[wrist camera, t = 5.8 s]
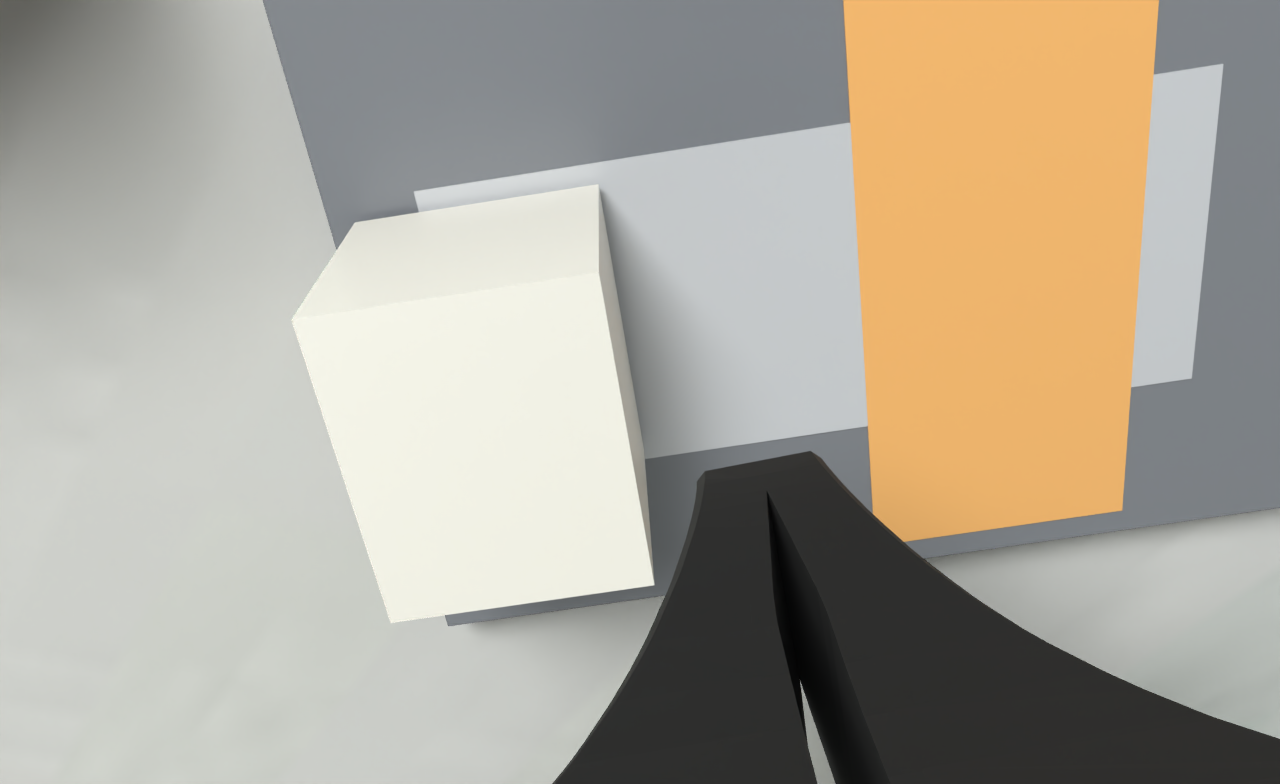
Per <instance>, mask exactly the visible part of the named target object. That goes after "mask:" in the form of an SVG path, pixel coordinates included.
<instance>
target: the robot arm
mask: <svg viewBox="0 0 1280 784" xmlns="http://www.w3.org/2000/svg"><path fill="white" fill-rule="evenodd" d="M800 681H801V684H802V687H803V690H804V693H805V696H806V699H807V701H808V704H809V707H810V710H811V713H812V716H813V719H814V722H815V725H816V728H817V731H818V734H819V736H820V739H821V742H822V745H823V748H824V751H825V754H826V757H827V760H828V763H829V765H830V768H831V771H832V774H833V777H834V780H835V783H836V784H1280V739H1278V738H1275V737H1272V736H1269V735H1266V734H1263V733H1260V732H1257V731H1254V730H1251V729H1248V728H1245V727H1241V726H1238V725H1235V724H1232V723H1229V722H1226V721H1223V720H1220V719H1217V718H1214V717H1212V716H1209V715H1206V714H1204V713H1201V712H1199V711H1196V710H1194V709H1191V708H1189V707H1186V706H1184V705H1181V704H1179V703H1176V702H1174V701H1171V700H1169V699H1167V698H1164V697H1162V696H1159V695H1157V694H1154V693H1152V692H1149V691H1147V690H1144V689H1142V688H1140V687H1137V686H1135V685H1133V684H1131V683H1129V682H1126V681H1124V680H1122V679H1120V678H1118V677H1115V676H1113V675H1111V674H1109V673H1106V672H1104V671H1102V670H1100V669H1099V668H1097V667H1095V666H1093V665H1091V664H1089V663H1087V662H1085V661H1083V660H1081V659H1079V658H1077V657H1075V656H1073V655H1071V654H1069V653H1067V652H1065V651H1063V650H1061V649H1059V648H1057V647H1055V646H1053V645H1051V644H1049V643H1047V642H1045V641H1044V640H1042V639H1040V638H1038V637H1037V636H1035V635H1033V634H1031V633H1029V632H1028V631H1026V630H1024V629H1023V628H1021V627H1019V626H1018V625H1016V624H1015V623H1013V622H1012V621H1010V620H1008V619H1007V618H1005V617H1004V616H1002V615H1000V614H999V613H997V612H996V611H994V610H993V609H991V608H990V607H988V606H987V605H985V604H984V603H982V602H981V601H979V600H978V599H976V598H975V597H974V596H972V595H971V594H969V593H968V592H967V591H965V590H964V589H962V588H961V587H960V586H958V585H957V584H956V583H954V582H953V581H952V580H950V579H949V578H948V577H946V576H945V575H944V574H943V573H941V572H940V571H939V570H937V569H936V568H935V567H933V566H932V565H931V564H930V563H928V562H927V561H926V560H925V559H923V558H922V557H921V556H920V555H919V554H917V553H916V552H915V551H914V550H913V549H911V548H910V547H909V546H908V545H907V544H906V543H904V542H903V541H902V540H901V539H900V538H899V537H898V536H897V535H896V534H894V533H893V532H892V531H891V530H890V529H889V528H888V527H887V526H885V525H884V524H883V523H882V522H881V521H880V520H879V519H878V518H877V517H876V516H875V515H873V514H872V513H871V512H870V511H869V510H868V509H867V508H866V507H865V506H864V505H863V504H862V503H861V502H860V501H859V500H858V499H857V498H856V497H855V496H854V495H853V494H852V493H851V492H850V491H849V490H848V488H847V487H846V486H845V485H844V484H843V483H842V482H841V481H840V480H839V479H838V478H837V476H836V475H835V474H834V473H833V472H832V471H831V469H830V468H829V467H828V466H827V465H826V463H825V462H824V461H823V459H822V458H821V457H819V456H818V455H816V454H815V453H813V452H812V451H807V452H802V453H797V454H791V455H786V456H781V457H776V458H770V459H765V460H760V461H755V462H750V463H744V464H739V465H734V466H729V467H723V468H718V469H713V470H708V471H705V472H704V473H703V474H702V475H701V477H700V478H699V479H698V480H697V490H696V498H695V504H694V509H693V513H692V518H691V522H690V525H689V529H688V533H687V536H686V540H685V543H684V546H683V549H682V552H681V555H680V558H679V561H678V563H677V566H676V569H675V572H674V575H673V578H672V581H671V583H670V586H669V588H668V591H667V593H666V596H665V598H664V600H663V602H662V605H661V607H660V609H659V611H658V614H657V616H656V618H655V621H654V623H653V625H652V627H651V630H650V632H649V634H648V636H647V638H646V640H645V642H644V644H643V646H642V648H641V650H640V652H639V654H638V656H637V658H636V660H635V662H634V664H633V665H632V667H631V669H630V671H629V673H628V674H627V676H626V678H625V680H624V681H623V683H622V685H621V686H620V688H619V690H618V692H617V693H616V695H615V697H614V698H613V700H612V702H611V703H610V705H609V706H608V708H607V709H606V711H605V712H604V714H603V715H602V717H601V718H600V720H599V721H598V723H597V724H596V726H595V727H594V729H593V730H592V732H591V733H590V735H589V736H588V738H587V739H586V741H585V742H584V743H583V745H582V746H581V748H580V749H579V750H578V752H577V753H576V755H575V756H574V757H573V759H572V760H571V761H570V763H569V764H568V765H567V767H566V768H565V769H564V770H563V772H562V773H561V774H560V775H559V776H558V778H557V779H556V780H555V781H554V782H553V784H817V781H816V777H815V773H814V769H813V765H812V761H811V757H810V753H809V749H808V744H807V736H806V728H805V719H804V711H803V702H802V694H801V686H800Z"/></svg>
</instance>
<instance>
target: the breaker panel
mask: <svg viewBox="0 0 1280 784" xmlns="http://www.w3.org/2000/svg"><path fill="white" fill-rule="evenodd" d="M263 3H264V6H265V10H266V13H267V17H268V20H269V23H270V27H271V30H272V33H273V37H274V40H275V44H276V47H277V50H278V54H279V57H280V60H281V64H282V67H283V71H284V74H285V77H286V81H287V84H288V87H289V91H290V94H291V98H292V101H293V104H294V108H295V111H296V114H297V118H298V121H299V125H300V128H301V131H302V135H303V138H304V141H305V145H306V148H307V152H308V155H309V158H310V162H311V165H312V168H313V172H314V175H315V179H316V182H317V185H318V189H319V192H320V195H321V199H322V202H323V206H324V209H325V212H326V216H327V219H328V222H329V226H330V229H331V233H332V236H333V239H334V243H335V246H336V249H338V247H339V246H340V244H341V243H342V241H343V240H344V238H345V237H346V235H347V234H348V232H349V231H350V229H351V228H352V226H353V224H354V223H355V222H361V221H367V220H373V219H380V218H386V217H392V216H399V215H405V214H411V213H418V212H424V211H431V210H437V209H443V208H450V207H456V206H462V205H469V204H475V203H482V202H488V201H494V200H501V199H507V198H513V197H520V196H526V195H532V194H539V193H545V192H552V191H558V190H564V189H571V188H577V187H583V186H590V185H596V184H599V190H600V196H601V202H602V208H603V213H604V219H605V225H606V231H607V237H608V243H609V248H610V254H611V260H612V266H613V272H614V278H615V283H616V289H617V295H618V301H619V307H620V313H621V318H622V324H623V330H624V336H625V342H626V348H627V353H628V359H629V365H630V371H631V377H632V383H633V388H634V394H635V400H636V406H637V412H638V418H639V423H640V429H641V435H642V441H643V447H644V456H645V469H646V482H647V495H648V508H649V521H650V533H651V546H652V559H653V572H654V585H653V586H646V587H639V588H632V589H625V590H618V591H611V592H604V593H597V594H590V595H583V596H576V597H569V598H562V599H555V600H548V601H541V602H534V603H527V604H520V605H513V606H506V607H499V608H492V609H485V610H478V611H471V612H464V613H457V614H450V615H445V617H446V621H447V624H448V626H454V625H461V624H468V623H475V622H482V621H489V620H496V619H503V618H510V617H517V616H524V615H531V614H538V613H545V612H552V611H559V610H566V609H573V608H580V607H587V606H594V605H601V604H608V603H615V602H622V601H629V600H636V599H643V598H650V597H657V596H664V595H666V593H667V591H668V588H669V586H670V583H671V581H672V578H673V575H674V572H675V569H676V566H677V563H678V561H679V558H680V555H681V552H682V549H683V546H684V543H685V540H686V536H687V533H688V529H689V525H690V522H691V518H692V513H693V509H694V504H695V498H696V490H697V480H698V479H699V478H700V477H701V475H702V474H703V473H704V472H705V471H708V470H713V469H718V468H723V467H729V466H734V465H739V464H744V463H750V462H755V461H760V460H765V459H770V458H776V457H781V456H786V455H791V454H797V453H802V452H807V451H812V452H813V453H815V454H816V455H818V456H819V457H821V458H822V459H823V461H824V462H825V463H826V465H827V466H828V467H829V468H830V469H831V471H832V472H833V473H834V474H835V475H836V476H837V478H838V479H839V480H840V481H841V482H842V483H843V484H844V485H845V486H846V487H847V488H848V490H849V491H850V492H851V493H852V494H853V495H854V496H855V497H856V498H857V499H858V500H859V501H860V502H861V503H862V504H863V505H864V506H865V507H866V508H867V509H868V510H869V511H870V512H871V513H872V514H873V515H875V516H876V517H877V518H878V519H879V520H880V521H881V522H882V523H883V524H884V525H885V526H887V527H888V528H889V529H890V530H891V531H892V532H893V533H894V534H896V535H897V536H898V537H899V538H900V539H901V540H902V541H903V542H904V543H906V544H907V545H908V546H909V547H910V548H911V549H913V550H914V551H915V552H916V553H917V554H919V555H920V556H921V557H922V558H923V559H924V558H931V557H938V556H945V555H952V554H959V553H966V552H973V551H980V550H987V549H994V548H1001V547H1008V546H1015V545H1022V544H1029V543H1036V542H1043V541H1050V540H1057V539H1064V538H1071V537H1078V536H1085V535H1092V534H1099V533H1106V532H1113V531H1120V530H1127V529H1134V528H1141V527H1148V526H1155V525H1162V524H1169V523H1176V522H1183V521H1190V520H1197V519H1204V518H1211V517H1218V516H1225V515H1232V514H1239V513H1246V512H1253V511H1260V510H1267V509H1274V508H1280V0H263Z"/></svg>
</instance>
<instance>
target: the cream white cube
mask: <svg viewBox="0 0 1280 784" xmlns="http://www.w3.org/2000/svg"><path fill="white" fill-rule="evenodd" d="M291 320H292V323H293V326H294V330H295V333H296V336H297V339H298V342H299V345H300V348H301V351H302V354H303V357H304V360H305V363H306V366H307V369H308V372H309V375H310V378H311V381H312V384H313V388H314V391H315V394H316V397H317V400H318V403H319V406H320V409H321V412H322V415H323V418H324V421H325V424H326V427H327V430H328V433H329V436H330V439H331V442H332V446H333V449H334V452H335V455H336V458H337V461H338V464H339V467H340V470H341V473H342V476H343V479H344V482H345V485H346V488H347V491H348V494H349V497H350V500H351V504H352V507H353V510H354V513H355V516H356V519H357V522H358V525H359V528H360V531H361V534H362V537H363V540H364V543H365V546H366V549H367V552H368V555H369V558H370V561H371V565H372V568H373V571H374V574H375V577H376V580H377V583H378V586H379V589H380V592H381V595H382V598H383V601H384V604H385V607H386V610H387V613H388V616H389V619H390V623H394V622H401V621H408V620H415V619H422V618H429V617H436V616H443V615H450V614H457V613H464V612H471V611H478V610H485V609H492V608H499V607H506V606H513V605H520V604H527V603H534V602H541V601H548V600H555V599H562V598H569V597H576V596H583V595H590V594H597V593H604V592H611V591H618V590H625V589H632V588H639V587H646V586H653V585H654V572H653V559H652V546H651V533H650V521H649V508H648V495H647V482H646V469H645V456H644V447H643V441H642V435H641V429H640V423H639V418H638V412H637V406H636V400H635V394H634V388H633V383H632V377H631V371H630V365H629V359H628V353H627V348H626V342H625V336H624V330H623V324H622V318H621V313H620V307H619V301H618V295H617V289H616V283H615V278H614V272H613V266H612V260H611V254H610V248H609V243H608V237H607V231H606V225H605V219H604V213H603V208H602V202H601V196H600V190H599V184H596V185H590V186H583V187H577V188H571V189H564V190H558V191H552V192H545V193H539V194H532V195H526V196H520V197H513V198H507V199H501V200H494V201H488V202H482V203H475V204H469V205H462V206H456V207H450V208H443V209H437V210H431V211H424V212H418V213H411V214H405V215H399V216H392V217H386V218H380V219H373V220H367V221H361V222H355V223H354V224H353V226H352V228H351V229H350V231H349V232H348V234H347V235H346V237H345V238H344V240H343V241H342V243H341V244H340V246H339V247H338V249H337V250H336V252H335V254H334V255H333V257H332V258H331V260H330V261H329V263H328V264H327V266H326V267H325V269H324V270H323V272H322V273H321V275H320V276H319V278H318V280H317V281H316V283H315V284H314V286H313V287H312V289H311V290H310V292H309V293H308V295H307V296H306V298H305V299H304V301H303V302H302V304H301V306H300V307H299V309H298V310H297V312H296V313H295V315H294V316H293V318H292V319H291Z"/></svg>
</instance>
